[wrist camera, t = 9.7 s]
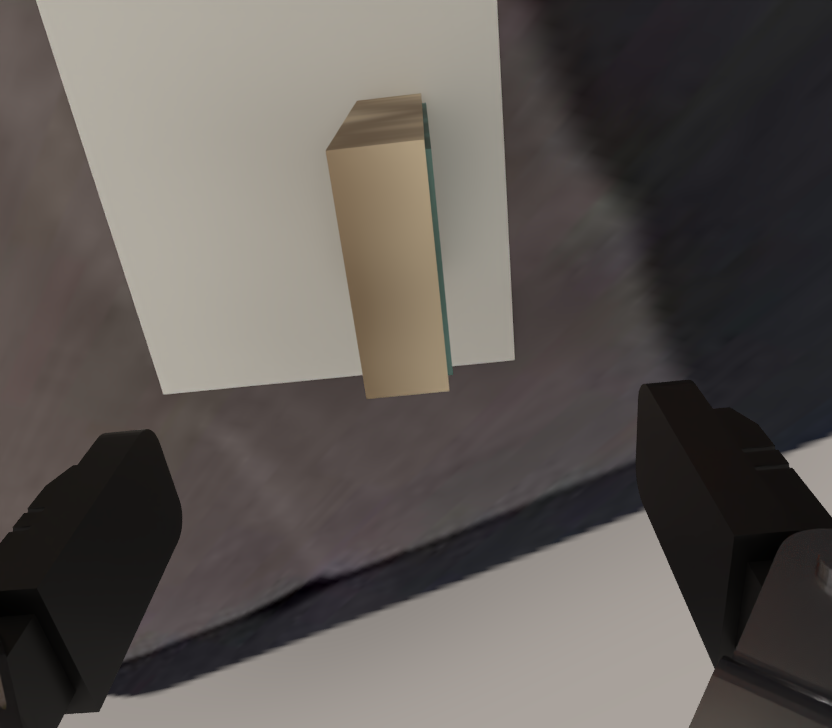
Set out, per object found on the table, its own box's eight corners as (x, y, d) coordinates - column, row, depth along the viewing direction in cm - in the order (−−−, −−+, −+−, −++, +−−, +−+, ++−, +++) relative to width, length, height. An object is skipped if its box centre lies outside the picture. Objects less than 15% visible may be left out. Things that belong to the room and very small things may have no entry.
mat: (492, -59, 23) (493, -60, 23) (513, 355, 31) (514, 360, 30) (41, -1, 24) (35, -1, 24) (166, 390, 32) (163, 394, 31)
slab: (424, 92, 25) (430, 138, 16) (442, 271, 29) (454, 390, 20) (356, 100, 25) (325, 150, 17) (381, 277, 29) (366, 398, 20)
